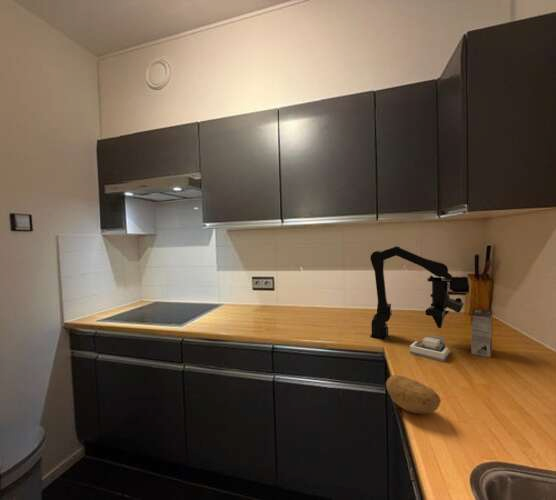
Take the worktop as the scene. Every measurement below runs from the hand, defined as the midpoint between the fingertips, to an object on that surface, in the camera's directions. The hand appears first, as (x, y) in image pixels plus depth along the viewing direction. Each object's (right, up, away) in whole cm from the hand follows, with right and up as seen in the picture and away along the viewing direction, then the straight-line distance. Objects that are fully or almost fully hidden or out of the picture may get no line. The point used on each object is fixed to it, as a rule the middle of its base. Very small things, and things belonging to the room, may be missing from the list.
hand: (439, 328), depth 124 cm
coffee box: (+11, -7, -10) cm, 16 cm away
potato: (-32, -11, -45) cm, 56 cm away
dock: (-8, -7, -9) cm, 14 cm away
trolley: (-8, -6, -9) cm, 14 cm away
